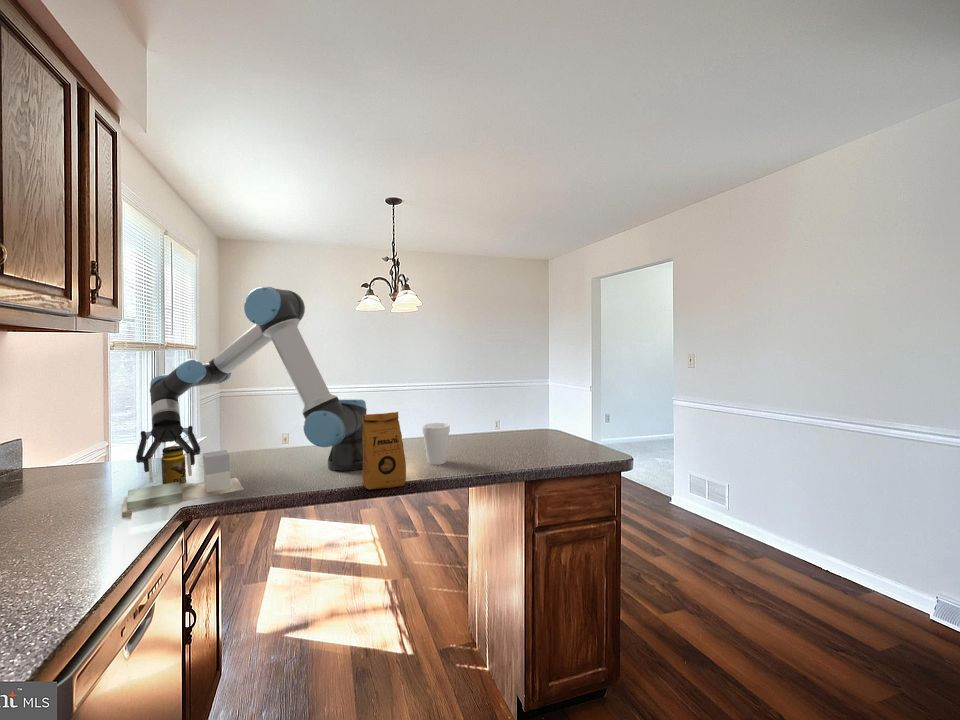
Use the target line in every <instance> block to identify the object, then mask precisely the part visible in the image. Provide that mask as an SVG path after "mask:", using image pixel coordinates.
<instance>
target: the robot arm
mask: <svg viewBox="0 0 960 720" xmlns="http://www.w3.org/2000/svg"><path fill="white" fill-rule="evenodd" d="M245 298H246V299H245V301H244V306H243V308H244V310H243V311H244V314H245V316H246V318H247V320H248V321H250V323H253V324H254V325H252V326H251V327H250V328H249V329H248V330H246V331H245V332H243V334H242V335H240V336H239V337H237V339H235V340H234V341H233V342H231V343H230V344H229V345H228V346H227V347H225V348H224V349H223V350H222V351H220V353H218V354H217V355H216V356H215V357H213V358H212V359H211V360H209V361H208V362H207V363H206V362H205V363H202V362H201V361H199V360H197V359H194V358H189V359H187V360H185V361H183V362H182V363H180V364H179V365H178V366H177V367H176V368H175V369H173V370H172V371H171V372H170V373H168V374H160V375H158V376H155V377H153V378H152V379H151V381H150V382H149V383H150V385H149V394H150V407H151V411H150V412H151V417H152V418H151V422H152V423H151V424H152V425H151V426H152V429H151V430H150V431H145V430H142V431H141V432H140V442H139V445H138V449H137V452H136V455H135V460H136V461H135V462H136V463H138V464H139V463H143V470H144V473H148V475H149V478H148V479H149V483H150V484H151V483H154V482H153V481H154V479H153V477H154V476H153V464H152V462H153V461H152V460H153V459H152V457H153V456H154V454H155V453H156V452H157V449H158V448H159V446H160V445H161V444H164V443H169V442H170V443H171V442H173V443H174V442H175V443H176V444H178V446H182V447H183V452H185V453H186V465H187V472H188V473H187V474H188V477H192V475H193V474H192V469H193V468H192V466H195V464H196V463H195V462H196V458H195V456H196V455H197V456H198V455H200V454H201V446H200V444H199V443H198V440H197V438H196V436H195V434H194V432H193V431H194V430H193V428H194V427H193V426H192V425H189V426H188V427H183V426H182V423H181V416H180V415H181V414H180V403H179V398H180V397H181V396H182V395H183V394H185V393H186V392H187V391H189V390H190V389H191V388H194V387H201V386H208V385H214V384H215V385H216V384H218V385H219V384H221V383H225V382H227V381H228V380H229V379H230V378H231V375H232V372H233V371H235V370H236V369H238V367H240V366H241V365H242V364H244V363H245V362H247V361H248V359H250V358H251V357H252V356H254V355H255V354H256V353H257V352H259V351H260V350H262V349H263V348H264V347H265V346H266V345H268V344H269V343H270V342H271V341H272V344H273V345H274V347H275V349H276V352H277V353H278V355H279V358H280V359H281V361H282V363H283V366H284V367H285V369H286V372H287V373H288V376H289V377H290V379H291V382H292V383H293V385H294V388H295V389H296V392H297V394H298V396H299V398H300V400H301V401H302V403H303V409H302V412H301V413H302V415H303V417H304V419H305V420H304V422H303V423H304V425H303V433H304V436H305V437H306V439H307V440H308V441H309V443H311V444H313V446H317V447H319V448H331V449H330V451H329V454H328V458H327V468H328V469H329V468H330V469H329V470H331V469H333V470H332V471H335V470H339V471H338V472H351V471H358V470H363V445H362V437H363V433H362V432H363V423H362V417H363V415H367V410H368V409H367V404H366V401H365V400H364V399H357V398H356V399H354V398H353V399H351V398H350V399H341V398H340V399H339V398H338V395H335V394H332V393H331V392H330V390H329V388H328V385H327V384H326V383H325V380H324V378H323V376H322V373H320V370H319V368H318V366H317V364H316V362H315V360H314V358H313V356H312V354H311V351H310V349H309V348H308V345H307V344H306V342H305V340H304V337H303V335H302V333H301V332H300V329H299V327H298V326H299V324H300V322H301V320H302V319H303V318H304V316H305V312H306V306H305V302H304V300H303V298H301V296H300V294H298V293H296V292H294V291H292V290H288V289H281V288H274V287H272V286H259V287H256V288H254V289H252V290H251V291H250V292H249V293H248V294H247V296H246V297H245ZM182 433H185V435H186V436H187V438H188V440H189V442H190V444H191V446H192V447H191V446H190V444H188V442H187V441H186V440H185V439H184V438H183V437H182ZM151 436H152V437H153V438H154V440H153V441H152V444H151V445H150V446H149V448H148V450H147V451H146V453H145V449H146V446H147V442H148V440H150V437H151ZM144 453H145V455H144Z"/></svg>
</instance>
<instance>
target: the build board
mask: <svg viewBox="0 0 960 720" xmlns="http://www.w3.org/2000/svg"><path fill="white" fill-rule="evenodd" d="M230 486H231V488H227V489H222V490H216V491H211V492H207V491H206V489H205V484H204V482H203V483H198V484H192V485H191V484H190V485H187V486H181V484H180V482H175V483H169V484H163V483H162V484H158V485H157V484H156V485H152V486H146V487H145V486H144V487H139V488H133V489H128V490H127V496H124V497H123V503H122V511H121V513H122V515H121V516H122V518H123V517H128V516H132V515H133V511H137V510H142V509H148V508H153V507H158V506H163V505H169V504H175V503H180V502H186V501H190V500H196V499H203V498H208V497H212V496H217V495H221V494H228V493H232V492H237V491H238V492H239V491H243V490H244V491H245V488H244V487H243V485H242V483H241V482H240V481H239V479H238V478H237V477H233V478H230Z"/></svg>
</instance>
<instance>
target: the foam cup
mask: <svg viewBox="0 0 960 720" xmlns="http://www.w3.org/2000/svg"><path fill="white" fill-rule="evenodd" d="M450 429H451V428H450V424H449V423H445V422H430V423H425V424H422V435H423V440H424V441H423V442H424V447H425V452H426V460H427V463H428V464H429V465H435V466H436V465H443V464H445V463H447V453H448V443H449V435H450Z"/></svg>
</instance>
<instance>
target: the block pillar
mask: <svg viewBox="0 0 960 720" xmlns="http://www.w3.org/2000/svg"><path fill="white" fill-rule="evenodd" d="M202 457H203V458H202V460H203V480H204V481H203V483H204V484H205V489H206V491H207V492H211V491H216V490H222V489H227V488H231V486H230V479H231V469H230V468H231V467H230V454H229V452H228V451H227V450H226V449H223V450H218V451H209V452H203V453H202Z"/></svg>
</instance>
